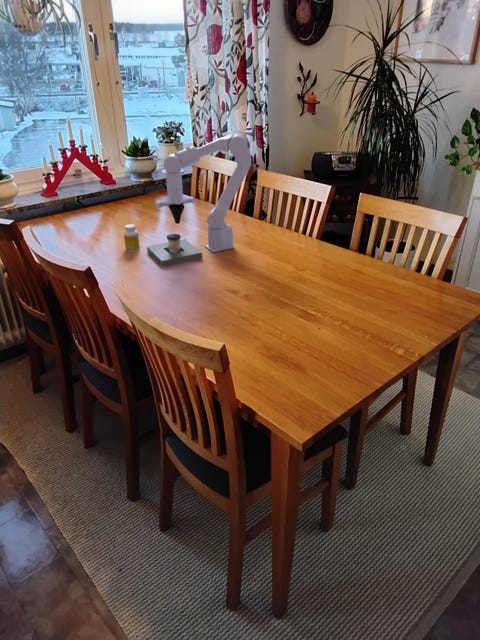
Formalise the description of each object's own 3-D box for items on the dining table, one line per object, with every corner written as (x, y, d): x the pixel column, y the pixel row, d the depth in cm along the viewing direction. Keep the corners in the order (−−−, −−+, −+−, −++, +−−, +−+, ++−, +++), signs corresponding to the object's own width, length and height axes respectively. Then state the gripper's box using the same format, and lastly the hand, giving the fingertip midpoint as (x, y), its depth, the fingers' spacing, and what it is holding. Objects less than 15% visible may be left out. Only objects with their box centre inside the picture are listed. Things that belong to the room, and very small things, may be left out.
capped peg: (178, 252, 187) (177, 232, 183) (184, 257, 183) (182, 237, 179) (166, 255, 185) (164, 235, 180) (171, 259, 181) (169, 239, 177)
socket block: (185, 244, 193) (185, 239, 192) (202, 258, 181) (201, 252, 180) (147, 252, 187) (146, 246, 185) (162, 267, 175) (161, 260, 173)
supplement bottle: (136, 252, 187) (133, 228, 182) (123, 251, 188) (120, 227, 183) (141, 247, 191) (139, 224, 186) (129, 246, 192) (126, 223, 187)
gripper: (159, 193, 174) (162, 228, 181) (196, 188, 179) (198, 223, 186) (153, 188, 180) (157, 223, 186) (190, 183, 185) (191, 217, 192)
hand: (177, 222), depth 187 cm, fingers closed
